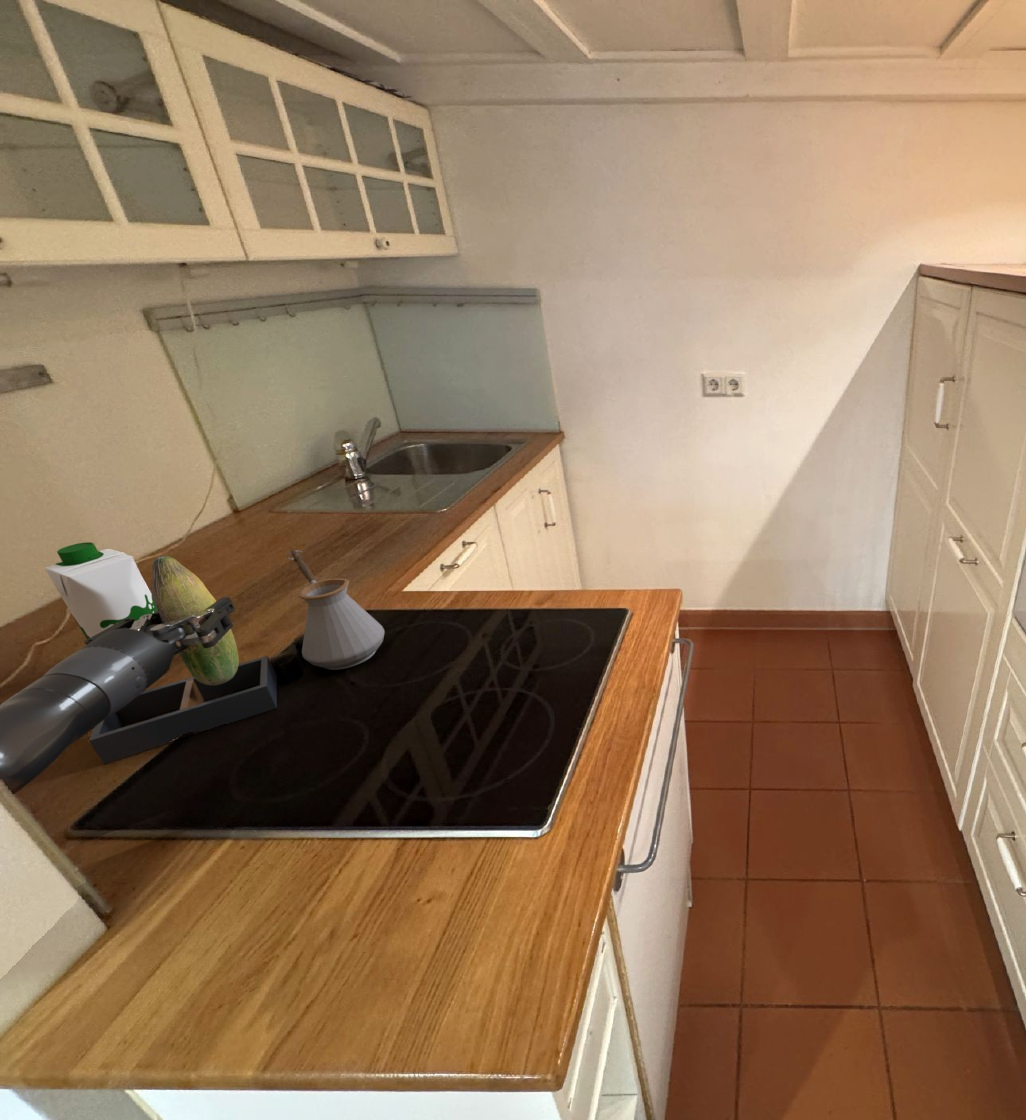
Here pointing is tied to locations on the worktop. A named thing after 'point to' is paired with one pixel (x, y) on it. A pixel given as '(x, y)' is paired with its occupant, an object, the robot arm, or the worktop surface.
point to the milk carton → (100, 587)
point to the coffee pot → (335, 624)
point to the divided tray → (185, 710)
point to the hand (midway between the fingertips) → (203, 605)
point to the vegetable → (189, 596)
